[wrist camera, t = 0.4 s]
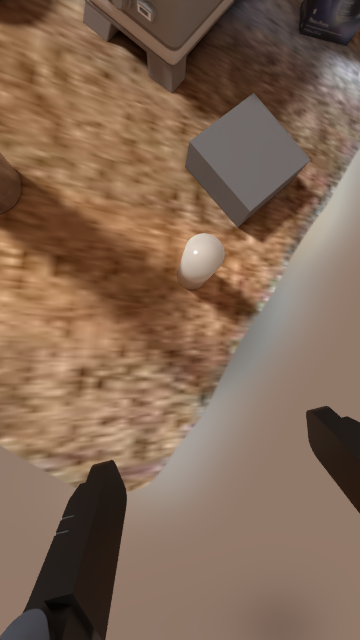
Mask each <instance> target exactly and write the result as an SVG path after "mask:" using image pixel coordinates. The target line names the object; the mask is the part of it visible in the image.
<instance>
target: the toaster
mask: <svg viewBox="0 0 360 640" xmlns="http://www.w3.org/2000/svg"><path fill="white" fill-rule="evenodd" d="M235 1H236V0H85V8H84V17H83V23H85V24H86V25H87V26H88V27H90V28H91V29H92V30H93V31H94V32H96V33H97V34H98V35H99V36H101V37H102V38H103V39H104V40H106V41H109V40H110V39H111V38H112V37H113V36H114V35H115V34H116V33H117V31H118V30H120V31H121V32H123V33H124V34H125V35H126V36H128V37H129V38H130V39H131V40H133V41H134V42H135V43H136V44H137V45H139V46H140V47H141V48H142V49H144V50H145V51H146V52H147V63H148V75H149V76H150V77H152V78H153V79H154V80H155V81H157V82H158V83H159V84H160V85H162V86H163V87H164V88H165V89H167V90H168V91H169V92H170V93H173V92H174V91H175V89H176V88H177V87H178V86H179V85H180V84H181V83H182V81H183V80H184V79H185V73H186V56H187V55H188V54H189V52H190V51H191V50H192V49H193V48H194V47H195V46H196V45H197V43H198V42H199V41H200V40H201V39H202V38H203V37H204V36H205V34H206V33H207V32H208V31H209V30H210V29H211V28H212V26H213V25H214V24H215V23H216V22H217V21H218V20H219V19H220V17H221V16H222V15H223V14H224V13H225V12H226V11H227V10H228V8H229V7H230V6H231V5H232V4H233V3H234V2H235Z"/></svg>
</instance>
